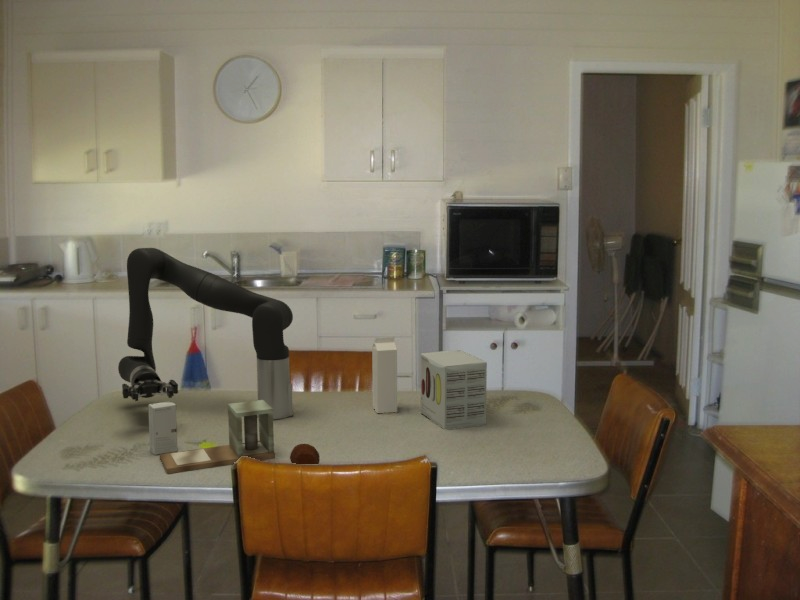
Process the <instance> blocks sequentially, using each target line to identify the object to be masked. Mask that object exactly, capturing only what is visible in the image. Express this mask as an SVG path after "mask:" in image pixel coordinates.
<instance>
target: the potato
mask: <svg viewBox="0 0 800 600" xmlns="http://www.w3.org/2000/svg"><path fill="white" fill-rule="evenodd" d="M289 460H290V462H291V464H292V463H296V464H320V454H319V452H318V450H317V449H316V447H315V446H314V445H312V444H308V443H299V444H296V445H295V446H294V447H293V448H292V450H291V452H290V456H289Z"/></svg>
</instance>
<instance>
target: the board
mask: <svg viewBox="0 0 800 600" xmlns="http://www.w3.org/2000/svg"><path fill="white" fill-rule="evenodd" d="M258 415H259V416H258ZM227 416H228V417H227V418H228V421H227V422H228V444H224V445H219V446H218V445H217V446H210V447H204V448H198V449H197V448H196V449H191V450H189V449H188V450H183V451H182V450H181V451H174V452H168V453H162V454H159V461H160V460H161V461H160V462H162V463H161V464H163V465H162V467H163V466H164V467H163V468H164V470H165V472H166V474H167V475H169V474H175V473H182V472H188V471H189V470H190V471H195V470H194V469H196V470H202V469H201V468H203V469H209V468H215V467H223V466H228V465H229V464H230V465H233V464H232V463H234V462H236V461H237V460H238V459H239V458H240V457H241V456H248V457H251V458H255V459H260V460H259V461H264V460H268V459H275V458H276V453H275V440H274V439H275V438H274V435H275V434H274V432H275V431H274V419H273V408H271V407H270V406H269V405H268V404H267V403H266V402H265V401H264V400H258V399H257V400H250V401H240V402H234V403H233V402H232V403H227ZM242 420H243V422H242ZM243 427H244V428H243ZM243 429H244V431H243ZM258 431H259V432H258ZM243 432H244V442H243ZM258 434H259V435H258ZM222 465H223V466H222Z"/></svg>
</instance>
